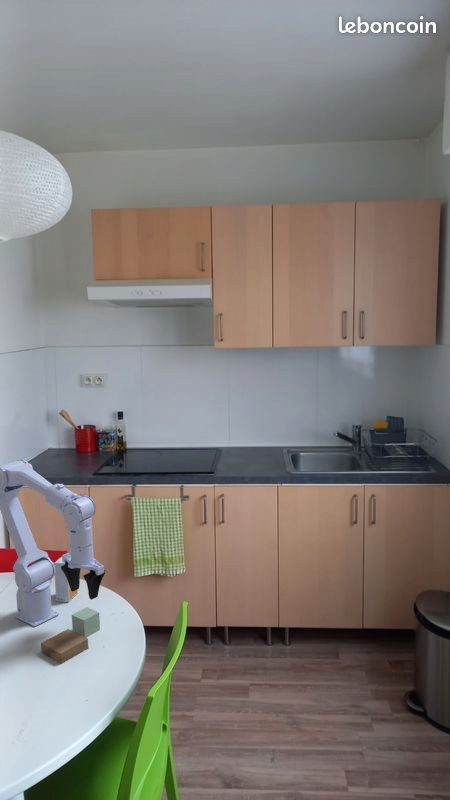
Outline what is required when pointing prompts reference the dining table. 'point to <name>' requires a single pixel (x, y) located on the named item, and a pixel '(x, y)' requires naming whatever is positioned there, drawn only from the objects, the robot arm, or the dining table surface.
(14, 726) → the dining table surface
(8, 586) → the dining table surface
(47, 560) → the robot arm
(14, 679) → the dining table surface
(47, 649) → the walnut block
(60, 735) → the dining table surface
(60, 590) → the skincare box
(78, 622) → the sage cube
